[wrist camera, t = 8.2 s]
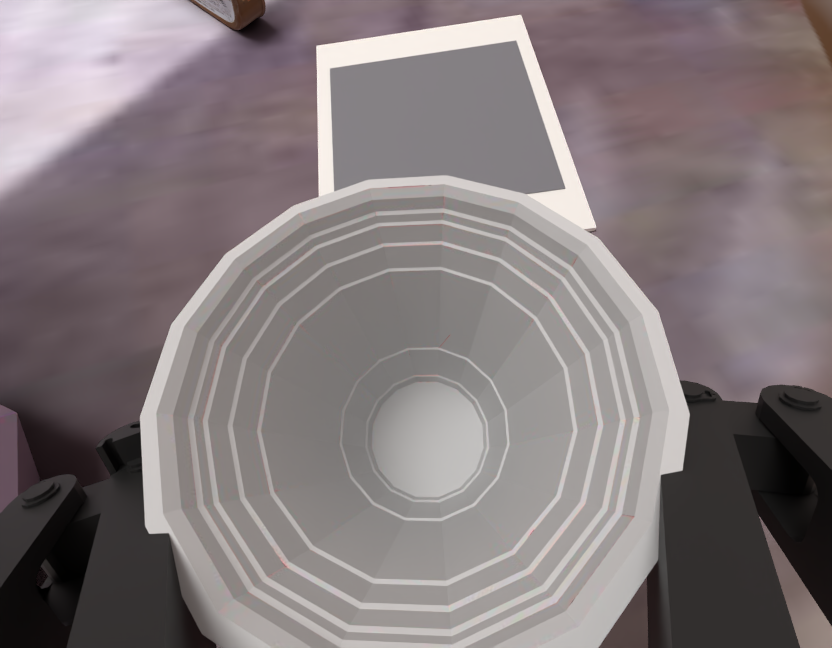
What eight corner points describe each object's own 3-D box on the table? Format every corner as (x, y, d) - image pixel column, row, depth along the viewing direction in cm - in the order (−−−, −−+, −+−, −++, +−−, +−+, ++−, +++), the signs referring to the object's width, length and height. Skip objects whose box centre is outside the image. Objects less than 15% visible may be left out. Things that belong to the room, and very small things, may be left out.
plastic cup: (505, 310, 21) (574, 112, 10) (574, 533, 16) (839, 640, 5) (307, 350, 21) (147, 196, 10) (326, 584, 16) (80, 800, 5)
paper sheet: (321, 267, 23) (319, 264, 22) (317, 49, 30) (316, 45, 30) (594, 230, 22) (596, 226, 22) (520, 19, 30) (521, 13, 29)
